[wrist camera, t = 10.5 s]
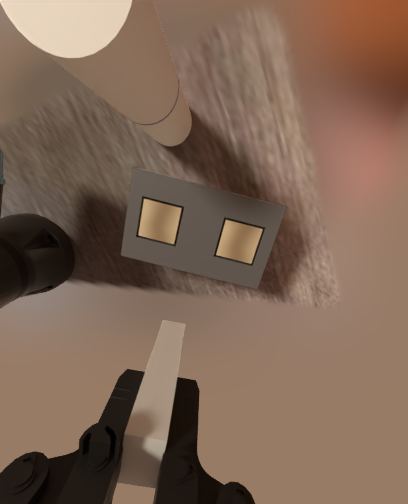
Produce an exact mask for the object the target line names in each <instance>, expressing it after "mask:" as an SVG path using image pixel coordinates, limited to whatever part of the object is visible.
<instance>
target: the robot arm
mask: <svg viewBox="0 0 408 504" xmlns="http://www.w3.org/2000/svg"><path fill="white" fill-rule="evenodd" d="M3 185H5V180H4V179H3V153H2V150H1V148H0V216H1V204H2V193H3ZM73 267H74V253H73V249H72V246H71V244H70V242H69V240H68V238H67V236H66V235H65V234H64V232H63V231H62V230H61V229H60V228H59V227H58V226H57V225H56V224H54V223H53V222H51V221H50V220H48V219H46V218H44V217H42V216H39V215H35V214H16V215H10V216H6V217H4V218H1V219H0V308H2V307H3V306H5V305H7V304H8V303H10V302H12V301H14V300H15V299H17V298H19V297H23V296H28V295H33V294H38V293H43V292H47V291H50V290H52V289H54V288H56V287H57V286H59V285H60V284H62V283H64V282H65V281H66V280H67V279H68V278H69V276H70V275H71V273H72V270H73ZM185 326H186V324H184V323H179V322H173V321H168V320H162V323H161V326H160V329H159V332H158V335H157V338H156V341H155V344H154V347H153V350H152V353H151V356H150V359H149V362H148V365H147V368H146V371H145V372H142V371H136V370H130V369H127V370H126V371H125V372H124V373H123V374H122V375H121V376H120V377H119V379H118V381H117V383H116V385H115V388H114V390H113V392H112V394H111V396H110V398H109V401H108V403H107V405H106V407H105V409H104V411H103V413H102V416H101V418H100V420H99V422H98V423H96V424H94V425H92V426H91V427H90V428H88V429H87V430H86V431H85V432H84V433H83V435H82V436H81V438H80V439H79V449H78V450H76V451H75V452H73V453H70V454H67V455H63V456H58V457H54V458H50V459H48V458H47V457H46V456H45V455H44V454H43V453H40V452H31V453H26V454H24V455H22V456H20V457H19V458H17V459H15V460H14V461H13V462H12V463H11V464H10V465H8V466H7V467H6V468H5V469H4V470H3V471H2V472H1V473H0V504H112V499H113V494H114V491H115V488H116V484H117V481H118V483H124V484H131V485H138V486H145V487H151V488H156V490H155V496H154V502H153V504H255V502H254V500H253V497H252V495H251V494H250V492H249V491H248V490H247V489H246V488H245V487H244V486H243V485H241V484H240V483H238V482H229V483H227V484H225V485H223V484H222V483H220V482H219V481H217V480H216V479H214V478H212V477H211V476H209V475H208V474H207V473H206V472H205V470H204V469H203V468H202V466H201V464H200V462H199V459H198V455H197V435H198V410H199V388H198V385H197V382H196V380H190V379H185V378H179V377H177V376H178V370H179V364H180V357H181V351H182V345H183V339H184V332H185Z"/></svg>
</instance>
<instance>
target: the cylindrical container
mask: <svg viewBox="0 0 408 504" xmlns="http://www.w3.org/2000/svg"><path fill="white" fill-rule="evenodd" d="M0 3H1V5H2V7H3V8H4V10H5V12H6V14H7V16H8V17H9V18H10V20H11V21H12V22H13V24H14V25H15V27H16V28H17V29H18V31H20V32H21V33H22V34H23V35H24V36H25V37H26V38H27V39H28V40H29V41H30V42H31V43H32V44H34V45H35V46H36V47H37V48H39V49H40V50H41V51H43V52H44V53H45V54H47V55H48V56H49V57H50V58H51V59H53V60H54V61H55V62H57V63H58V64H59V65H60V66H62V67H63V68H64V69H65V70H67V71H68V72H69V73H71V74H72V75H73V76H74V77H76V78H77V79H78V80H79V81H81V82H82V83H83V84H85V85H86V86H87V87H88V88H90V89H91V90H92V91H93V92H95V93H96V94H97V95H99V96H100V97H101V98H102V99H104V100H105V101H106V102H107V103H109V104H110V105H111V106H113V107H114V108H115V109H116V110H118V111H119V112H120V113H121V114H123V115H124V116H125V117H127V118H128V119H129V120H130V121H132V122H133V123H134V124H135V125H137V126H138V127H139V128H140V129H142V130H143V131H144V132H146V133H147V134H148V135H149V136H151V137H152V138H153V139H154V140H156V141H157V142H158V143H160V144H162V145H164V146H176V145H179V144H181V143H182V142H183V141H184V140H185V139H186V138H187V137H188V135H189V133H190V130H191V126H192V117H191V113H190V110H189V107H188V104H187V101H186V98H185V95H184V92H183V89H182V86H181V83H180V80H179V77H178V74H177V71H176V68H175V65H174V62H173V59H172V56H171V53H170V50H169V47H168V44H167V41H166V38H165V35H164V32H163V29H162V26H161V23H160V20H159V17H158V14H157V11H156V8H155V5H154V2H153V0H0Z"/></svg>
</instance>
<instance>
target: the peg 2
mask: <svg viewBox="0 0 408 504" xmlns="http://www.w3.org/2000/svg"><path fill="white" fill-rule="evenodd" d="M262 230H263V229H262V228H261V227H260V226H257V225H253V224H249V223H245V222H242V221H238V220H234V219H230V218H226V217H224V221H223V224H222V228H221V231H220V235H219V239H218V242H217V246H216V255H218V256H222V257H226V258H230V259H234V260H238V261H242V262H246V263H250V264H251V263H252V260H253V257H254V254H255V251H256V248H257V245H258V242H259V239H260V236H261V233H262Z"/></svg>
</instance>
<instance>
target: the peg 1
mask: <svg viewBox="0 0 408 504" xmlns="http://www.w3.org/2000/svg"><path fill="white" fill-rule="evenodd" d="M183 210H184V207H183V206H179V205H175V204H172V203H168V202H164V201H160V200H156V199H152V198H146V199H144V202H143V209H142V215H141V221H140V228H139V234H138V235H139V236H143V237H147V238H151V239H155V240H159V241H162V242H166V243H170V244H175V242H176V241H177V238H178V233H179V229H180V224H181V219H182V215H183Z"/></svg>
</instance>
